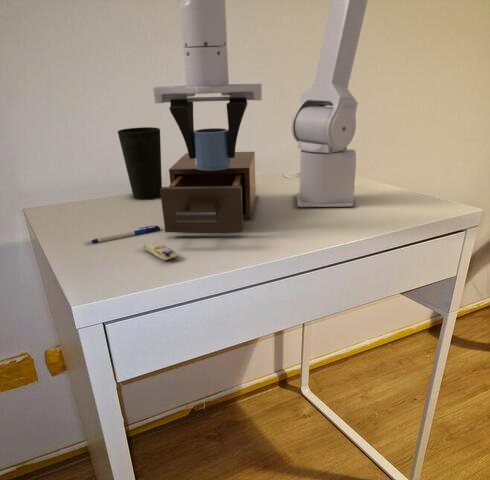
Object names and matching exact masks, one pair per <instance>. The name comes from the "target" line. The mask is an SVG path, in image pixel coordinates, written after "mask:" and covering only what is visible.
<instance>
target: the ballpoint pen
mask: <svg viewBox="0 0 490 480" xmlns="http://www.w3.org/2000/svg"><path fill="white" fill-rule="evenodd" d="M160 230H161V227H159V225H148V226H147V225H146V226H143V227H139V229H136V230H133V231H129V232H123V233H118V234H117V233H116V234H113V235H108V236H102V237H97V238H94V239H91V241H90V242H91V243H92V244H96V243H103V242H107V241H113V240H118V239H123V238H124V239H125V238H128V237H133V236H140V235H145V234H150V233H154V232H158V231H160Z"/></svg>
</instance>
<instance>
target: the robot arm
mask: <svg viewBox="0 0 490 480" xmlns="http://www.w3.org/2000/svg"><path fill="white" fill-rule="evenodd" d="M178 2H179V12H180V13H179V14H180V25H181V38H182V48H183V60H184V61H183V62H184V73H185V85H171V86H156V87H153V88H152V89H153V97H154V98H153V99H154V103H155V104H164V103H165V104H166V103H170V106H169V107H168V108H169V111H170V114H171V115H172V117H173V119H174V121H175V122H176V124H177V127H178V128H179V130H180V133H181V135H182V138H183V140H184V144H185V147H186V149H187V153H188V154H189V159H194V147H193V134H192V131H194V130H195V127H194V102H195V103H196V102H197V103H198V102H199V103H200V102H202V103H203V102H227V103H226V114H227V115H226V116H227V129H229V148H228V152H229V158H234V157H235V152H236V148H237V147H236V146H237V141H238V135H239V132H240V127H241V124H242V121H243V118H244V115H245V112H246V110H247V106H248V105H249V103H248V101H254V102H255V101H262V100H263V97H262V96H263V84H262V83H229V82H230V81H229V58H228V38H227V37H228V35H227V13H226V11H227V10H226V9H227V8H226V0H178ZM367 6H368V0H330V3H329V9H328V14H327V18H326V23H325V28H324V32H323V37H322V42H321V47H320V52H319V57H318V61H317V66H316V71H315V77H314V81H313V83H312V84H311V85H310V86H309V87H308V88H307V90H305V91H304V92H303V93H302V95H301V96H300V101H299V104H298V107H297V109H296V110H295V112H294V114H293V116H292V120H291V134H292V137H293V138H294V140H295V141H296V142H297V148H298V149H300V155H299V156H300V157H299V158H300V161H299V193H296V203H297V207H298V208H339V207H341V208H345V207H351V208H352V207H353V206H354V195H355V194H354V193H355V182H356V168H357V154H356V150H355V149H349V148H348V146H349V145H350V144H351V143H352V141H353V138H354V136H355V133H356V130H357V129H356V128H357V119H356V114H357V108H358V105H359V103H358V101H357V99H356V98H355V97H354V96H353V94H352V93H351V91H350V90H349V89H348V87H349V84H350V79H351V76H352V75H351V74H352V71H353V66H354V62H355V58H356V53H357V49H358V45H359V40H360V35H361V31H362V28H363V22H364V18H365V14H366V10H367ZM204 94H205V95H208V94H221V95H220V96H201V97H199V96H197V97H195V96H196V95H204Z"/></svg>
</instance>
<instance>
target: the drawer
mask: <svg viewBox="0 0 490 480" xmlns="http://www.w3.org/2000/svg"><path fill="white" fill-rule="evenodd" d="M160 193H161V196H160V200H161V208H162V218H163V226H164V233H243V232H244V220H243V209H244V205H245V201H244V173H231V174H180V175H179V176H178V177H177V178H176V179H175V180H174V181H173V182H172V184H169V186H162V188H161V189H160Z"/></svg>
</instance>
